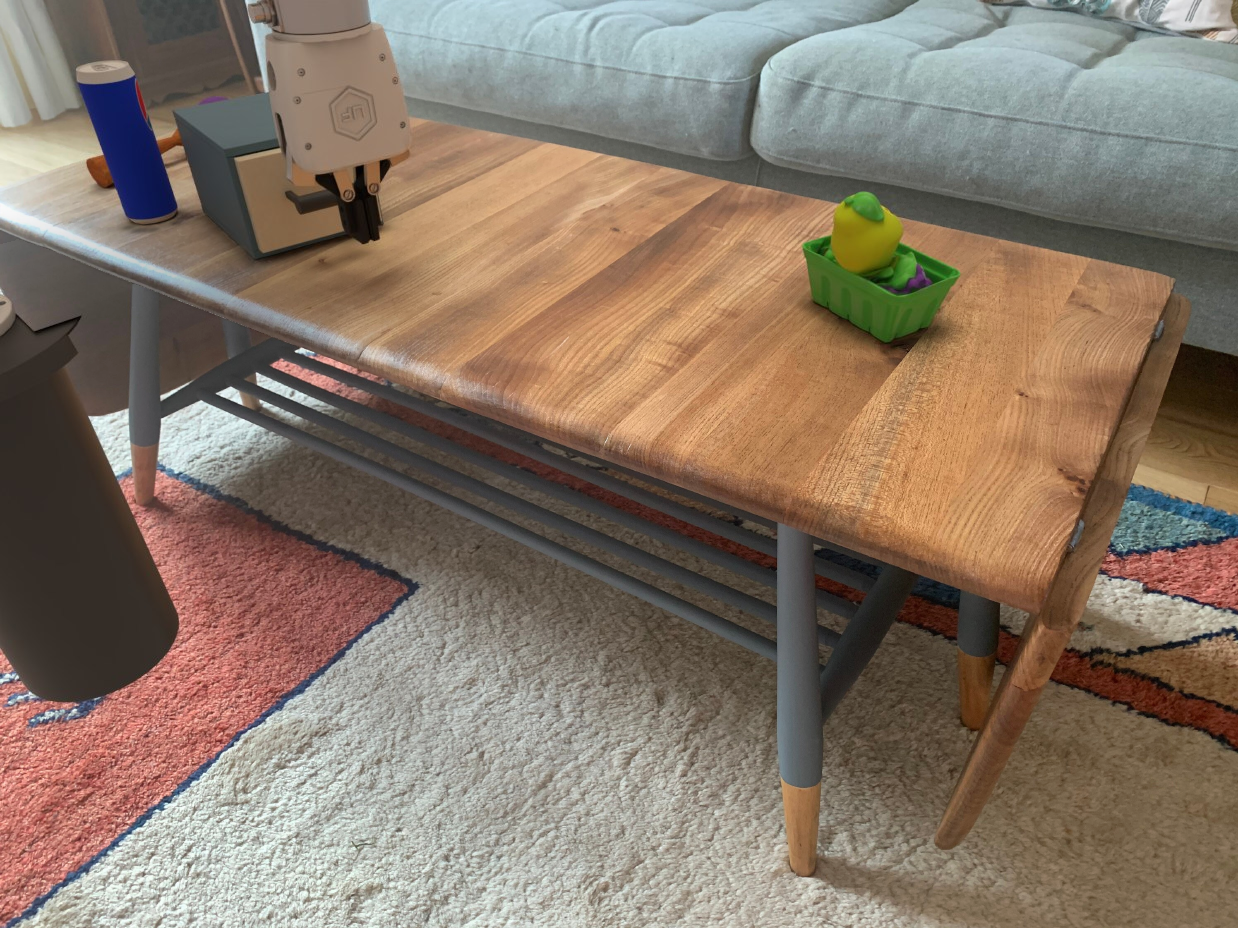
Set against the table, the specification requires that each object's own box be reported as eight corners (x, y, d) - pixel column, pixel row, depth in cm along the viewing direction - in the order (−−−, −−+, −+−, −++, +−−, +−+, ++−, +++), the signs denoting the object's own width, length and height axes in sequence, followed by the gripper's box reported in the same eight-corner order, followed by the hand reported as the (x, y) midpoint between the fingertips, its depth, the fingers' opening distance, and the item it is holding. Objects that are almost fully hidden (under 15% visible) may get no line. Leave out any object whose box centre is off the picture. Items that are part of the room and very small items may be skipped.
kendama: (69, 147, 101) (215, 91, 113) (98, 198, 104) (237, 138, 117) (95, 146, 98) (242, 88, 110) (123, 199, 101) (263, 137, 113)
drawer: (401, 234, 88) (386, 144, 83) (279, 268, 82) (255, 174, 77) (324, 181, 100) (307, 100, 95) (213, 208, 94) (187, 123, 89)
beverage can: (187, 215, 95) (140, 65, 86) (139, 229, 92) (84, 76, 83) (167, 203, 98) (118, 57, 89) (119, 216, 95) (64, 66, 86)
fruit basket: (953, 329, 74) (985, 195, 67) (875, 359, 70) (900, 221, 63) (855, 277, 81) (875, 153, 75) (780, 303, 78) (793, 174, 71)
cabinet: (384, 224, 93) (365, 119, 86) (254, 260, 86) (223, 149, 80) (323, 182, 102) (302, 85, 96) (203, 211, 96) (171, 110, 90)
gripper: (240, 35, 63) (301, 276, 74) (429, 5, 70) (458, 228, 81) (204, 18, 67) (267, 247, 78) (385, -9, 75) (418, 204, 86)
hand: (364, 237), depth 80 cm, fingers closed
